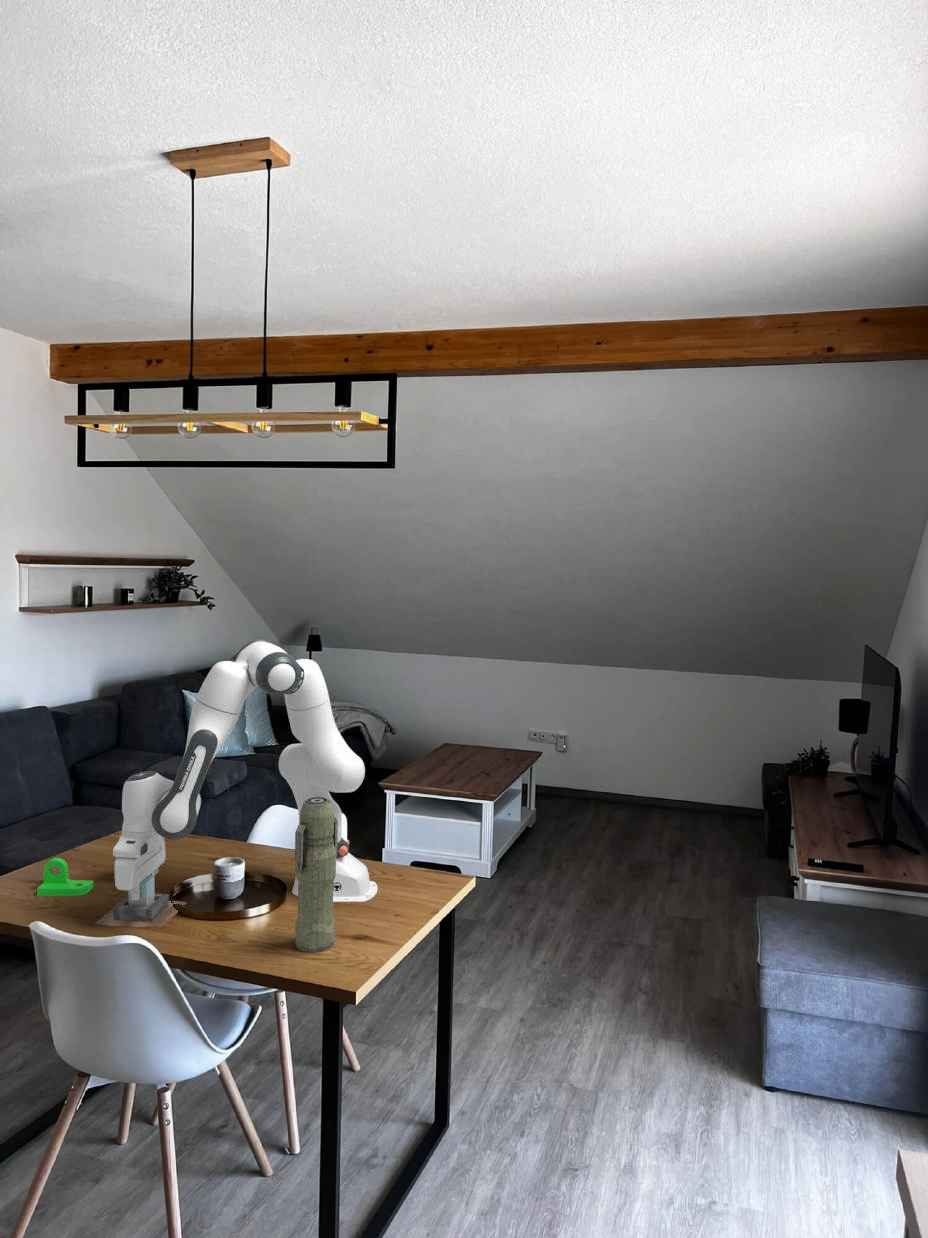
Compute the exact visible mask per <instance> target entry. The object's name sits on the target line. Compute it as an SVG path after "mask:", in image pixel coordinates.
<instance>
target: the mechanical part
mask: <svg viewBox="0 0 928 1238" xmlns="http://www.w3.org/2000/svg"><path fill="white" fill-rule="evenodd" d="M53 867H56V868H57V869H58V870H59V873H55V872H54V871H53ZM42 871H43V874H42V875H43V883H41V885H39V887H37V889H36V892H37V893H36V896H37V897H79V896H83V895H86V894H88V893H89V892H90V891H91V890H92V889H93V888H94V880H81V879H80V880H78V879H77V880H76V879H74V880H73V879H70V878H69V865H68V863H67V862H66V861H65V860H64V859H62V858H60V857H53V858H51V859H50V860H48V862H46V864H45V865H44V866H43V870H42Z"/></svg>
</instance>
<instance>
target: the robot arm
mask: <svg viewBox="0 0 928 1238" xmlns="http://www.w3.org/2000/svg"><path fill="white" fill-rule="evenodd" d="M257 688H259V689H260V690H261V691H262V692H264V693H266V694H268V695H273V696H282V695H283V696H284V702H285V706H286V711H287V716H288V721H289V724H290V729H291V733H292V735H293V736H294V737H295V739H296V740H298V741H299V742H300V743H292V744H289V745H287V746H286V747H285V748H284V749H283V750H282V752H281V754H280V756H279V759H278V770H279V774H280V775H281V776H282V777H283V778H284V780H286V782H287V784H288V785H289V787H290V789H291V791H292V793H293V796H294V799H295V803H296V806H297V811H298V824H299V823H300V811H301V808H302V805H303V802H304V801H305V800H307V799H309V798H312V797H323V798H327V799H328V800H330V801H331V803H332V807H333V810H334V817H335V818H336V819H337V821H338V841H337V857H336V876H335V879H334V884H333V903H355V902H357V903H359V902H360V903H362V902H367V901H369V900H371V899H373V898H374V897H375V896H376V895H377V893H378V890H379V889H378V885H377V883H376V882H375V881H373V880H370V875H369V870H368V867H367V865H366V864H364V862H362V861H360V860H359V859H357V858H356V857H355V856H354V855H352V854H351V853H350V852H349V848H350V847H349V845H350V840H349V839H347V841H346V840H345V839H344V838H343V837H342V816H343V815H342V809H341V808H340V806H339V804H338V803H337V802H336V801H335V800H334V799H333V797H332V796H331V793H337V794H338V793H353V792H355V791H356V790H357V789H358V788H359V787H360V786H361V785H362V783H363V781H364V779H365V776H366V774H365V773H366V767H365V763H364V761H363V759H362V758H361V757H360V756H359V755H357V754H356V753H355V751H353V750H352V749H351V747H350V746H349V745H348V744H347V742H346V741H345V739H344V737H343V736H342V735H341V732H340V731H339V729H338V727H337V725H336V721H335V717H334V714H333V709H332V704H331V700H330V695H329V690H328V687H327V683H326V680H325V678H324V675H323V672H322V670H321V667H320V666H319V665H318V663H317V662H316V661H314V660H312V659H309V658H308V659H307V658H300V659H295V658H294V657H292V655H290V654H288V652H286V651H285V650H284V649H283V648H282V647H280V646H278V645H275V644H274V643H271V641H268V640H264V639H259V638H258V639H252V640H250V641H247V642H246V643H245V644H244V645H242V646H241V647H240V648H239V650H238V652H236V653H235V654H234V655H233V656H232V657H231V660H224V661H223V660H222V661H219V662H216V663H215V664H214V665H213V666H212V667H211V669H210V671H209V672H208V673H207V675H206V677H205V678H204V680H203V682H202V685H201V687H200V688H199V691H198V693H197V695H196V698H195V701H194V702H193V706H192V709H191V714H190V717H189V724H188V731H187V738H186V744H185V751H184V754H183V757H182V761H181V763H180V766H179V767H178V771H177V773H176V775H175V778H174V780H171V779H169V778H166V777H164V776H163V775H161V774H160V773H158V772H157V771H156V770H155V771H153V770H146V771H145V770H144V771H140V772H137V773H134V774H132V775H130V776H129V777H128V778H127V779H126V780H125V781H124V784H123V787H122V795H121V797H122V798H121V811H122V815H123V822H122V827H121V834H120V836H119V839H118V841H117V842H116V844H115V845H114V847H113V849H112V856H113V857H115V860H114V865H113V866H114V883H115V885H114V886H115V887H116V889H117V891H131V898H132V900H139V899H140V898H141V891H139V886H140V882H141V881H143V880H144V879H145V878H146V877H147V876H154V870H156V869H157V868H158V869H159V868H160V866H162V865H163V864H164V863H165V861H166V842H165V839H168V840H172V841H173V840H180V839H184V838H186V837H187V836H189V835H190V834H191V833H192V832H193V831H194V829H195V827H196V825H197V819H198V815H199V812H200V808H201V806H202V797H201V794H200V792H201V790H202V789H201V788H202V786H203V783H204V781H205V779H206V776H207V773H208V770H209V768H210V765H211V764H212V762H213V760H214V759H215V757H216V755H217V753H218V752H219V751H220V749H221V748H222V746H223V745H224V744H225V742H226V741H227V739H228V738H229V736H230V735H231V733H232V732H233V730H234V728H235V725H236V723H237V722H238V720H239V718H240V716H241V712H242V710H243V706H244V703H245V700H247V698H248V697H249V695H250V694H251V693H252V692H253V691H254V690H256V689H257ZM330 792H331V793H330ZM291 893H292V894H293V895H294V896H296V897H298V880H297V877H296V876H295V880H294V883H293V887H292V890H291Z"/></svg>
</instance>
